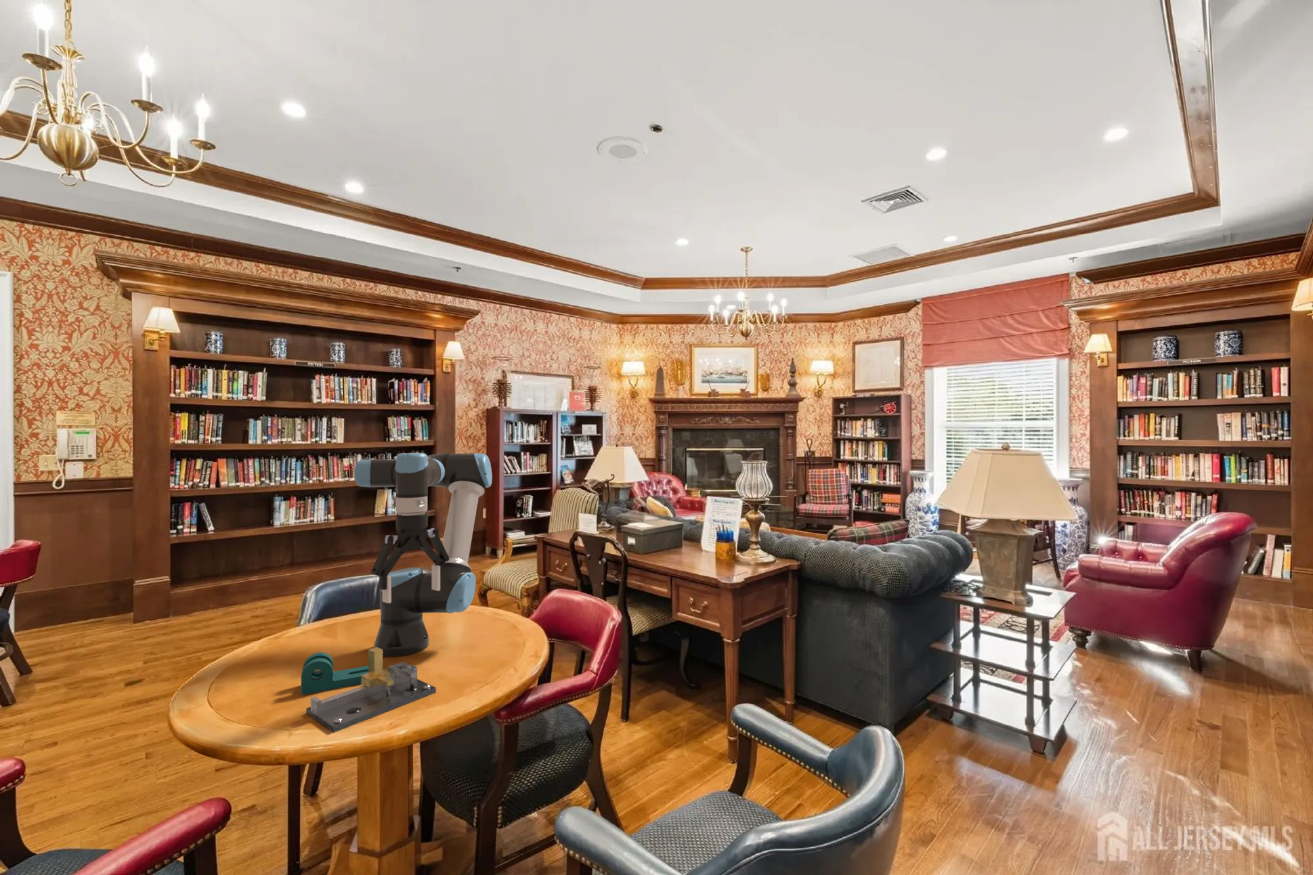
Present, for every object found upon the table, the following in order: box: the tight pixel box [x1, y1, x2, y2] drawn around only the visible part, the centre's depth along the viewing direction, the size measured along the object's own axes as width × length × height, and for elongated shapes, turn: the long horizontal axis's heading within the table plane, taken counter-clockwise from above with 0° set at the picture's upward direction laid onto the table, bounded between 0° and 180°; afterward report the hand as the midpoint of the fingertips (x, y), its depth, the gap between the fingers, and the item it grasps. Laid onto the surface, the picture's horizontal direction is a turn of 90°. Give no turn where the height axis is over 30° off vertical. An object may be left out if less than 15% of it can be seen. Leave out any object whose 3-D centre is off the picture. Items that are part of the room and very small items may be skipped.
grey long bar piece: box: [310, 661, 418, 715], centre depth 136 cm, size 9×24×4 cm, turn 143°
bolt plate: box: [305, 678, 437, 733], centre depth 136 cm, size 14×24×2 cm, turn 143°
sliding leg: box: [360, 647, 394, 697], centre depth 138 cm, size 9×5×10 cm, turn 53°
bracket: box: [300, 652, 368, 696], centre depth 147 cm, size 18×7×8 cm, turn 119°
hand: (412, 595), depth 146 cm, fingers open, 13 cm apart
